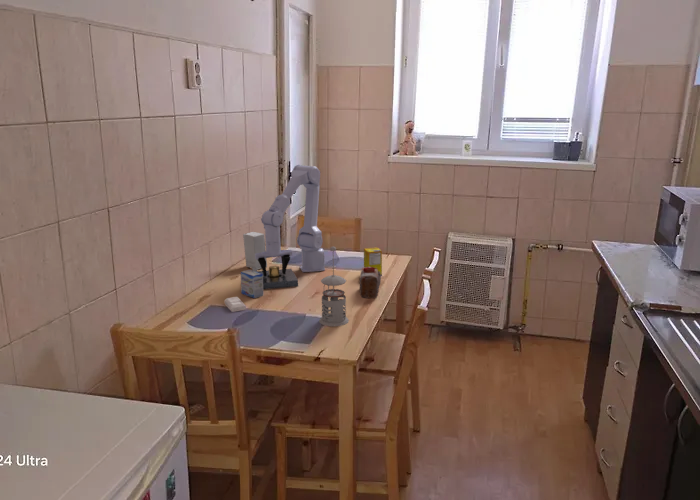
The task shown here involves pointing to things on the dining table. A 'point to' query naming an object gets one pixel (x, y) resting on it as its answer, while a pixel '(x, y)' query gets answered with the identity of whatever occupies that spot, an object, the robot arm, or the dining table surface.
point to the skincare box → (253, 248)
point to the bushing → (273, 271)
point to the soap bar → (235, 304)
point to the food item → (369, 282)
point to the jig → (279, 279)
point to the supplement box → (373, 258)
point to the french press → (333, 301)
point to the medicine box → (252, 283)
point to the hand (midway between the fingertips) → (274, 274)
